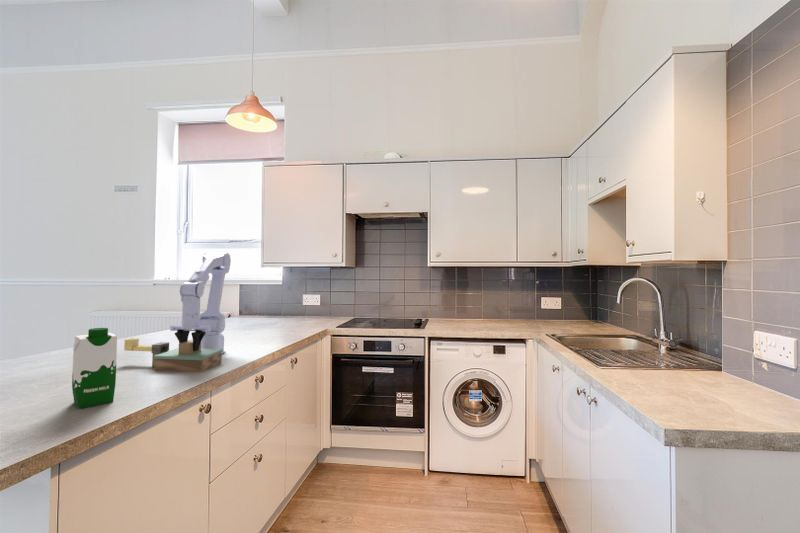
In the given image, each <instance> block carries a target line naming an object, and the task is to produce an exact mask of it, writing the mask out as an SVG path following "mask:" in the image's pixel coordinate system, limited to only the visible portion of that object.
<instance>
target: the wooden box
mask: <svg viewBox="0 0 800 533" xmlns="http://www.w3.org/2000/svg"><path fill="white" fill-rule="evenodd" d="M151 346H152V351H151V354H152V359H151V360H152V361H151V362H152V363H151V366H152V367H154V371H167V372H185V373H186V372H188V373H189V372H190V373H202V372H204V371H206V370H209V369H211V368H213V367H215V366H218V365H220V364H221V363H222V354H221V353H219V354H216V355H214V356H211V357H209V358H206V359H204V360H178V359H154V356H155V355H158V354H161V353H164V352H167V351H170V342H167V341H160V342H157V343H154V344H151ZM161 347H163V350H162V351H161Z"/></svg>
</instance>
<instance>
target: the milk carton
mask: <svg viewBox="0 0 800 533" xmlns="http://www.w3.org/2000/svg"><path fill="white" fill-rule="evenodd" d="M108 331H109V328H108V327H94V328H89V329H88V334H81V335H75V336H74V343H73V349H72V351H73V355H72V379H71V387H72V388H71V389H72V396H73V403H74V404H75V405H76V407H77V408H78V409H79V410H80V408H81V409H85V407H86V408H91V407H94V406H99V405H105V404H110V403H113V402H114V398H115V397H114V396H115V392H116V383H117V382H116V380H117V378H116V377H117V358H118V357H117V355H118V351H117V350H118V347H117V346H118V336H117V335H116V334H114V333H113V332H108ZM109 402H110V403H109ZM90 406H91V407H90Z"/></svg>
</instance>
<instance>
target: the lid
mask: <svg viewBox="0 0 800 533" xmlns="http://www.w3.org/2000/svg"><path fill="white" fill-rule="evenodd" d="M221 352H223V349H202V348H201V343H200V346H199V350H197V351H193V339H188V341H185V342H182V343H178V347H177V348H175V349H174V348H173V349H171V350H169V351H167V352H164V353H161V354H158V355H155V356H154V359H178V360H204V359H206V358H209V357H211V356H214V355H216V354H219V353H221Z"/></svg>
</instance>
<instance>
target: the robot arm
mask: <svg viewBox="0 0 800 533" xmlns="http://www.w3.org/2000/svg"><path fill="white" fill-rule="evenodd" d="M230 268H231V255H230V253H229V252H208V251H205V252H204V253H203V255H202V265H201V266H200V268H199V269H197V270H195V271H194V272H193V274H192V275H191V277H189V279H188V280H187V281H185V282H183V283H182V284H181V285H180V287H179V296H180V302H181V303H182V309H181V310H182V312H181V313H182V314H181V317H182V318H181V324H172V325H170V328H169V330H170V332H173V331H176V332H174V336H175V337H176V339H177V340H178V342H179V343H182V342H185V341H188V340H189V334H190V332H191V334H190V335H191V337H192V340H193V351H197V350H199V346H200V343H201V348H202V349H223V352H221V355H222V354H225V353H226V352H227V351H226V350H225V337H224V334H223V332H224V331H225V328H226V316H225V315H224V313H223V312H221V311H220V307H221V301H222V296H223V289H224V283H225V278H226V275H227V274H229V272H230ZM209 274H211V275H212V276H211V281H210V286H209V294H208V299H207V305H206V310H205V311H203V312H202V313H201V297H203V295H204V292H205V291H204V290H205V286H206V284H207V282H208V281H209V279H210V275H209ZM179 343H178V344H179Z"/></svg>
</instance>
